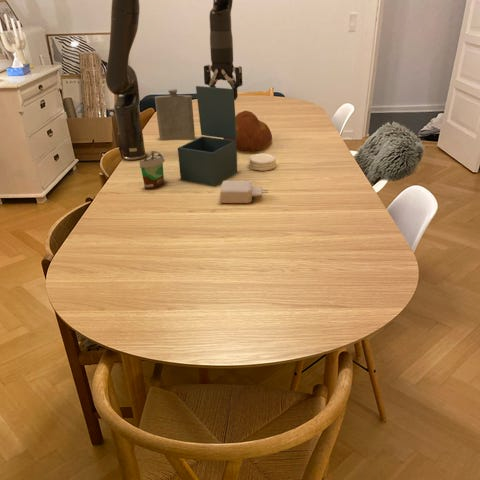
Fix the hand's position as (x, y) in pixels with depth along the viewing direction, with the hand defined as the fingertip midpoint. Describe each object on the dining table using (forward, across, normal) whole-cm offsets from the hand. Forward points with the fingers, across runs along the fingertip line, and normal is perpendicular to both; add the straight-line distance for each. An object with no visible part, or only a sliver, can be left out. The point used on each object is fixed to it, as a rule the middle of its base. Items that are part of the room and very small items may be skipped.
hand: (223, 99), depth 166 cm
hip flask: (+24, +39, -22) cm, 51 cm away
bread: (+24, +7, -30) cm, 39 cm away
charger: (+24, -22, +26) cm, 41 cm away
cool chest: (+24, 0, +12) cm, 27 cm away
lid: (+4, 0, +6) cm, 7 cm away
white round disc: (+24, -13, -4) cm, 27 cm away
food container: (+24, +12, +28) cm, 38 cm away
